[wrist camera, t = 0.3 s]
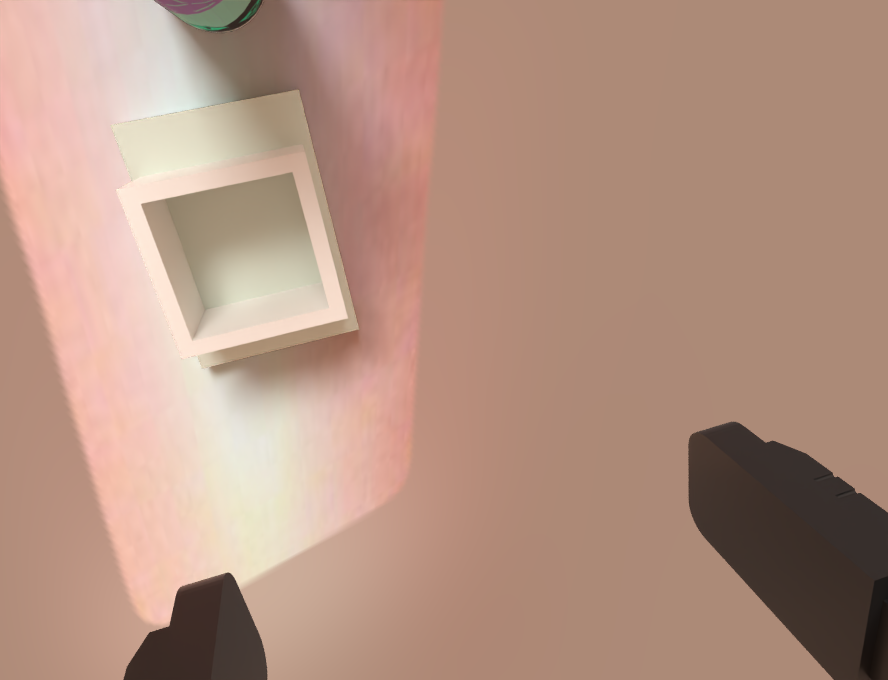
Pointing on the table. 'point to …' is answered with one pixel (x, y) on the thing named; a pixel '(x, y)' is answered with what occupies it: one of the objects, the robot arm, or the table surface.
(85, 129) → the table surface
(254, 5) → the spray can
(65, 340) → the table surface
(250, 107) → the can holder
